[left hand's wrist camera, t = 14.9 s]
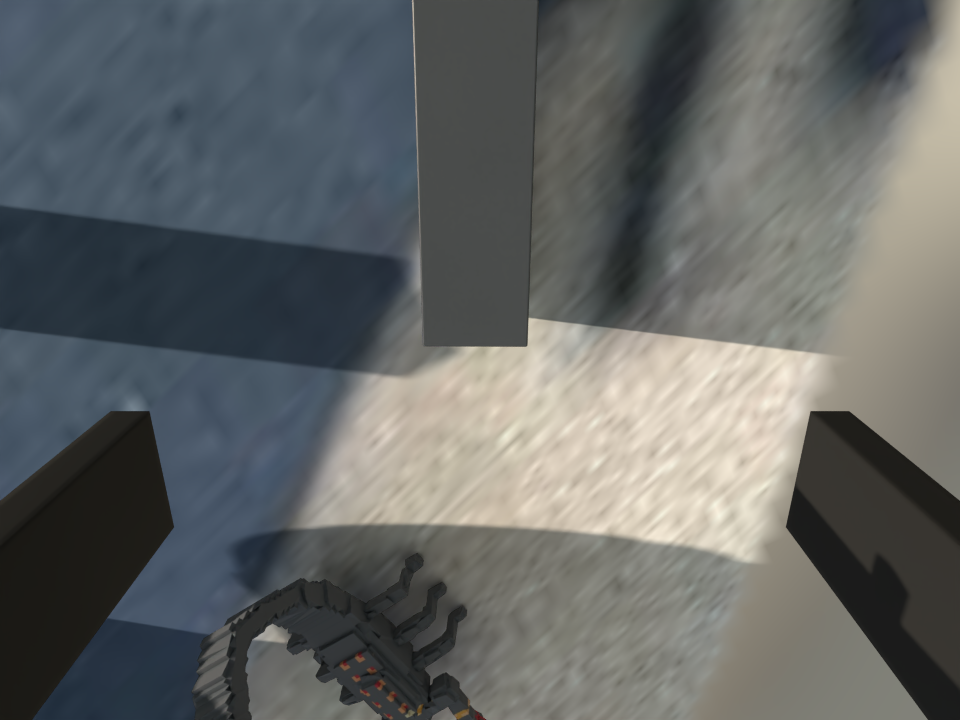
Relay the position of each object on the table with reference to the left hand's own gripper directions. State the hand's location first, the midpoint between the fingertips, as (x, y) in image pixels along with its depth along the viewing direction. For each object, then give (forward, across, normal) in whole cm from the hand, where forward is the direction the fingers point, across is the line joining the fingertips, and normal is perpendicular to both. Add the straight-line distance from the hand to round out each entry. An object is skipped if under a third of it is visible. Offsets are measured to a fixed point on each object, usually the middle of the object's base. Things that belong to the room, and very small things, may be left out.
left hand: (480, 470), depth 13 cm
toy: (+30, +8, +34) cm, 46 cm away
